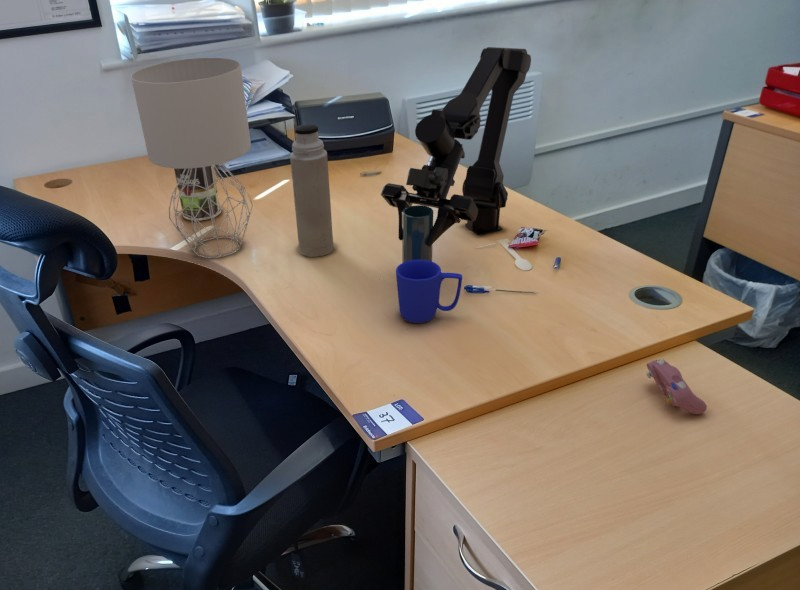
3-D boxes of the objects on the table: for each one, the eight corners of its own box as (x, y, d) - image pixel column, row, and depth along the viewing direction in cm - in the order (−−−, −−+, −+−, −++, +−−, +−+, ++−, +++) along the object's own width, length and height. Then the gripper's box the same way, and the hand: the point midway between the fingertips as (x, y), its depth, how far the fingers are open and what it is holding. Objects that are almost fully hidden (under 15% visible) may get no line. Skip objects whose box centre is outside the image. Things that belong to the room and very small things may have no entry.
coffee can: (209, 222, 175) (200, 169, 167) (175, 219, 179) (164, 166, 171) (228, 207, 183) (220, 155, 175) (195, 204, 187) (186, 153, 179)
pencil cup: (420, 261, 140) (421, 202, 133) (437, 271, 136) (439, 212, 129) (396, 269, 138) (396, 210, 131) (413, 280, 134) (413, 220, 126)
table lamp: (187, 278, 150) (148, 89, 128) (158, 243, 167) (119, 70, 144) (279, 252, 158) (257, 68, 135) (242, 220, 175) (218, 53, 152)
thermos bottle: (308, 240, 162) (297, 120, 147) (338, 244, 159) (331, 122, 143) (293, 254, 157) (280, 131, 141) (324, 258, 154) (315, 133, 138)
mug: (459, 329, 126) (462, 281, 120) (393, 326, 128) (393, 279, 122) (460, 307, 132) (463, 260, 127) (398, 304, 135) (398, 258, 129)
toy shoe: (649, 387, 110) (637, 358, 107) (676, 374, 109) (665, 344, 106) (680, 426, 102) (669, 396, 99) (710, 413, 101) (700, 381, 98)
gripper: (384, 142, 131) (356, 217, 130) (475, 154, 121) (445, 235, 120) (404, 169, 140) (378, 239, 139) (490, 182, 131) (462, 257, 130)
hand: (413, 242), depth 132 cm, fingers closed on pencil cup, 6 cm apart
